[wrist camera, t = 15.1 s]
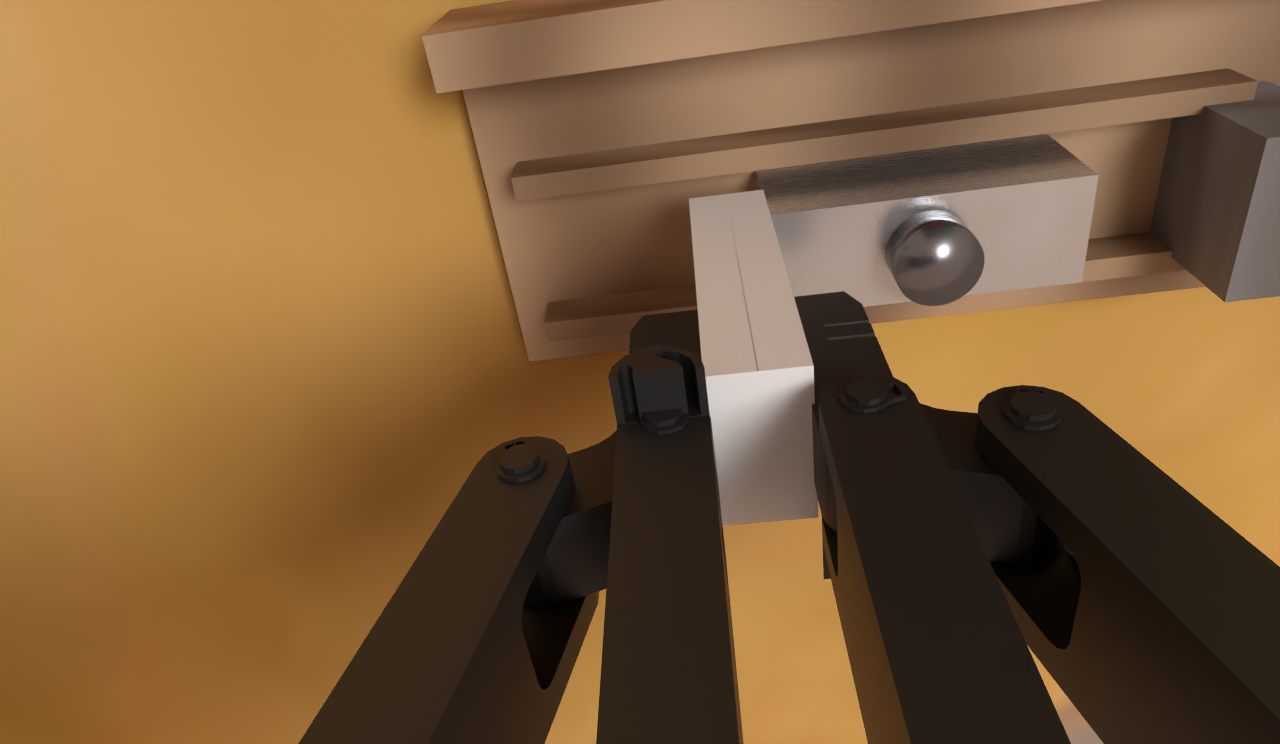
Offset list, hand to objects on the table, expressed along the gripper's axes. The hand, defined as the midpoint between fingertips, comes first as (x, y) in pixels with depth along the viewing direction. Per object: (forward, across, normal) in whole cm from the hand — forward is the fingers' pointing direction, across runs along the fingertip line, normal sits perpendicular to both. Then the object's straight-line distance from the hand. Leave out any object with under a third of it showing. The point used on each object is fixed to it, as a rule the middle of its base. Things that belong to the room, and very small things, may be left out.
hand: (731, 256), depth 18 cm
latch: (+2, +4, 0) cm, 4 cm away
